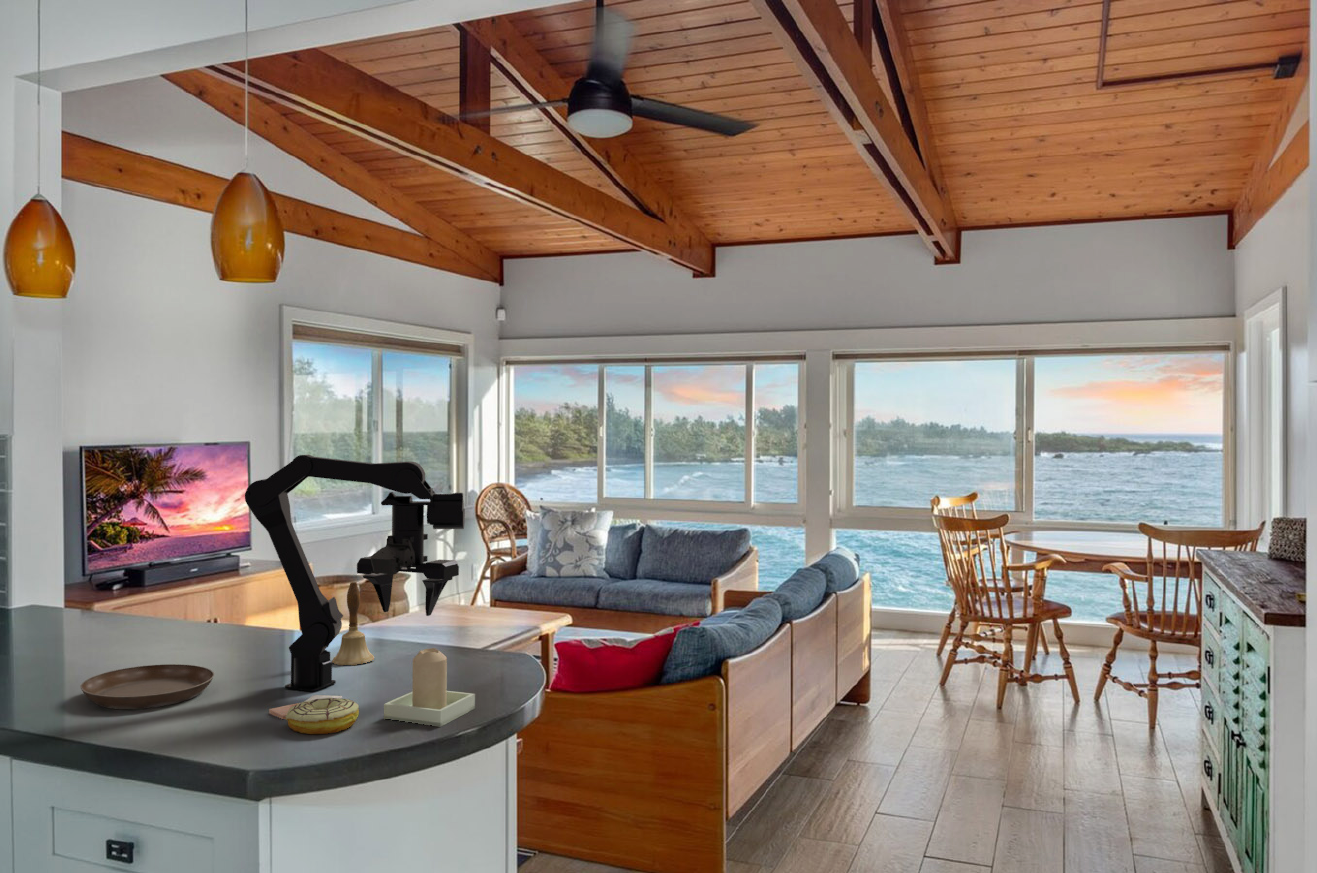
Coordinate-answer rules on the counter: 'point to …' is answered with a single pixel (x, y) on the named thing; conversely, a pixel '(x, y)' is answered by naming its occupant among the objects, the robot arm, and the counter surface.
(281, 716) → the tile terracotta
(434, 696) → the candle
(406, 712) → the tray
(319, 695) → the tile white
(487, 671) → the counter surface
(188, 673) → the plant saucer
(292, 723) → the decorated donut
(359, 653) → the hand bell
